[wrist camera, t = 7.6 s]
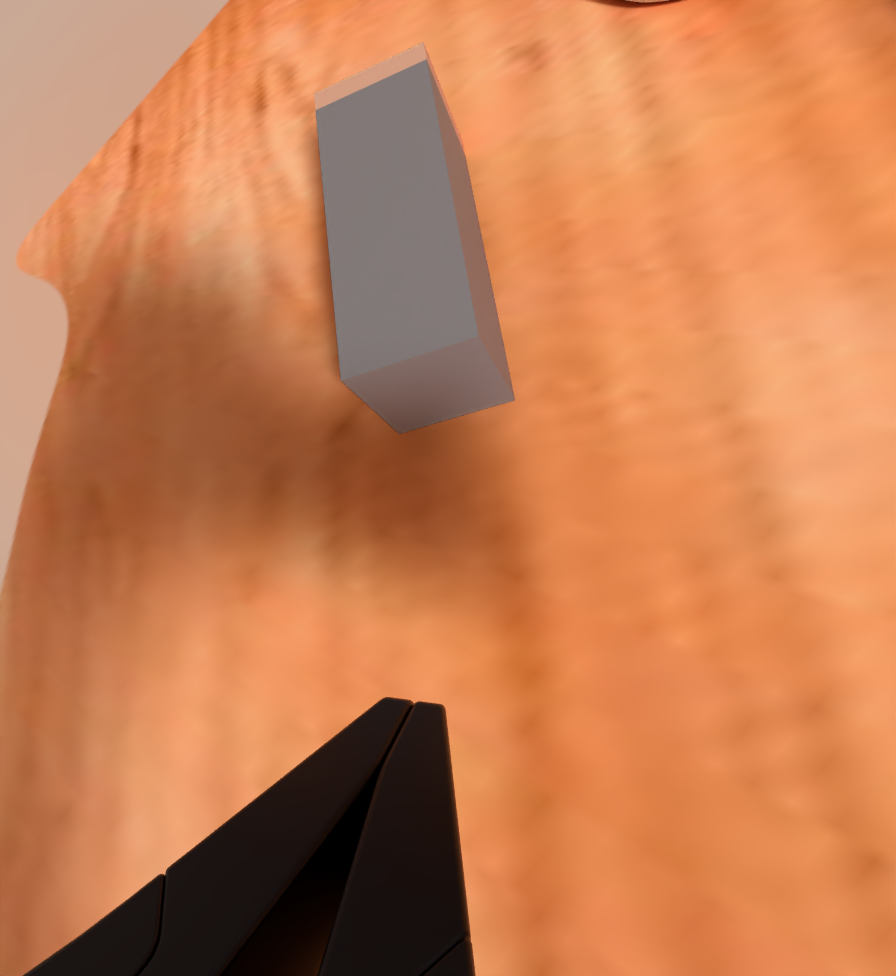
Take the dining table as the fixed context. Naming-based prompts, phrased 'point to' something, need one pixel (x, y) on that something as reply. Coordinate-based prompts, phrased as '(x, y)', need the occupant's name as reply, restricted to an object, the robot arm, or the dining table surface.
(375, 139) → the charcoal block
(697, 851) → the dining table surface
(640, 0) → the supplement tub
